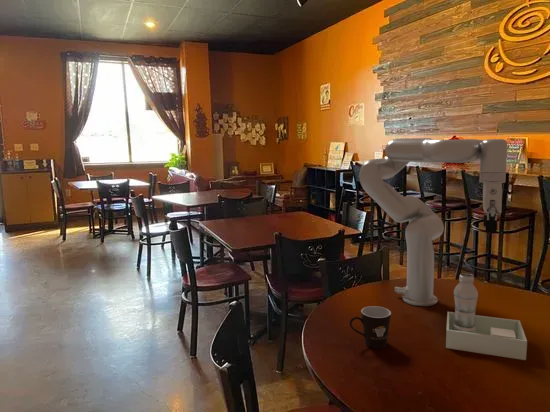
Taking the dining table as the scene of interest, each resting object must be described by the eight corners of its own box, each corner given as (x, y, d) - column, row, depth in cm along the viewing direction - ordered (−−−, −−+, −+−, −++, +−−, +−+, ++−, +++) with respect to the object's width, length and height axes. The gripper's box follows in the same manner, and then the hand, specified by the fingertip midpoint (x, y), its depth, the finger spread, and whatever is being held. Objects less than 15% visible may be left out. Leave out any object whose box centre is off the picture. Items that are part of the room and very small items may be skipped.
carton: (491, 347, 119) (492, 334, 119) (490, 339, 124) (490, 327, 123) (515, 351, 117) (516, 337, 116) (513, 343, 122) (513, 330, 121)
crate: (445, 349, 120) (446, 330, 119) (446, 329, 133) (447, 311, 132) (525, 362, 112) (527, 341, 111) (518, 339, 125) (519, 320, 124)
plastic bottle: (479, 345, 121) (482, 279, 118) (454, 343, 122) (456, 278, 119) (473, 335, 127) (476, 272, 124) (449, 333, 128) (452, 271, 125)
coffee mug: (391, 338, 128) (391, 307, 126) (389, 352, 120) (389, 319, 118) (353, 334, 132) (353, 304, 130) (349, 346, 124) (349, 314, 122)
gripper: (508, 180, 125) (505, 235, 128) (502, 175, 141) (500, 225, 144) (480, 180, 128) (478, 234, 131) (478, 175, 144) (476, 224, 147)
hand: (489, 229), depth 137 cm, fingers open, 9 cm apart
